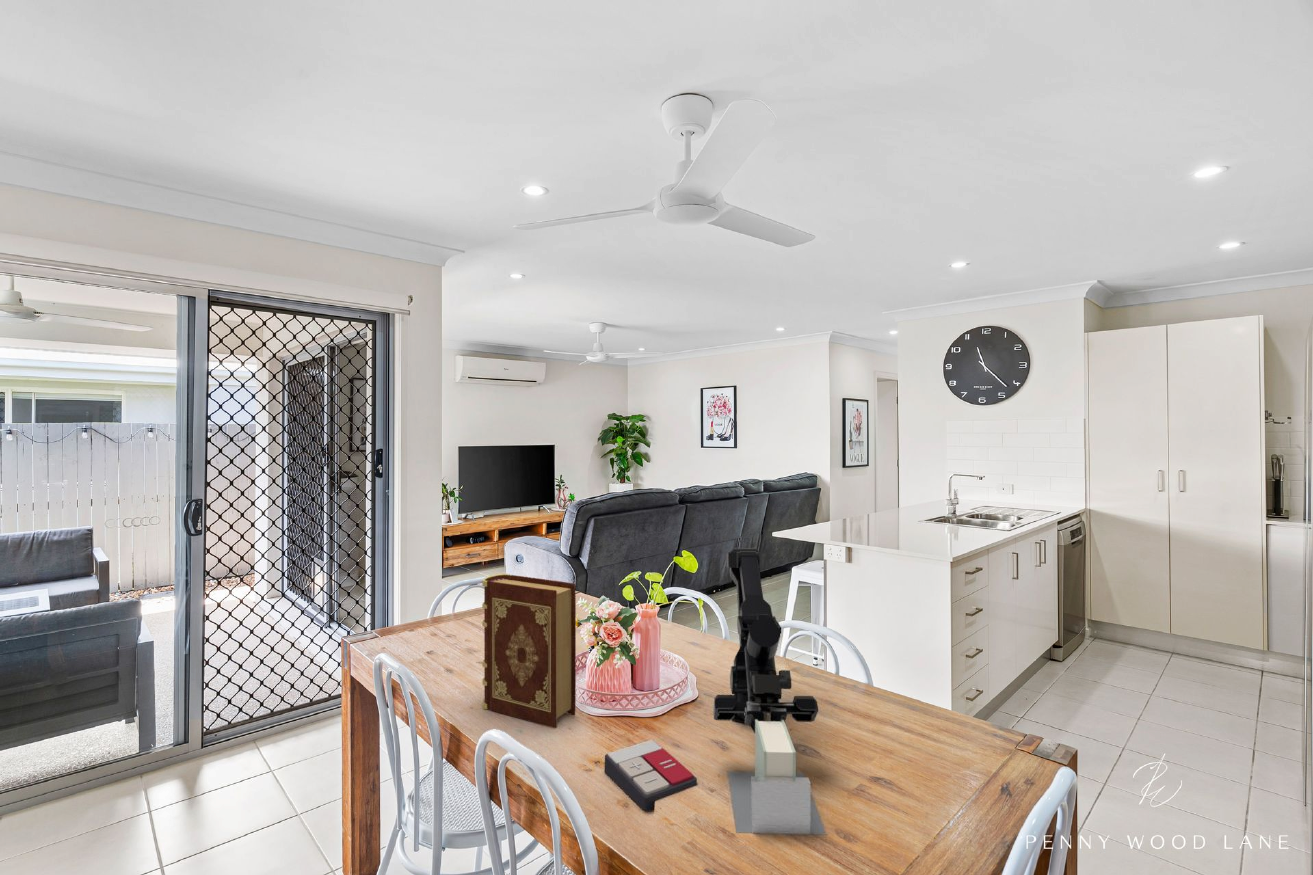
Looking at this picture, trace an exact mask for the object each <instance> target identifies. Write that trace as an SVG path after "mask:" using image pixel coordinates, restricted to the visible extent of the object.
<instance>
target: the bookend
mask: <svg viewBox="0 0 1313 875" xmlns="http://www.w3.org/2000/svg"><path fill="white" fill-rule="evenodd" d="M810 792H811V781H810V778H809V777H806V776H805V777H754V776H751V829H752V833H751V834H765V833H780V834H779V835H810Z"/></svg>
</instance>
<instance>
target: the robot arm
mask: <svg viewBox="0 0 1313 875" xmlns="http://www.w3.org/2000/svg"><path fill="white" fill-rule="evenodd" d="M726 567H727V568H729V577H730V578H731V580H732V581H733V582H734V584H735V585H736V596H737V598H736V599H737V618H736V619H737V620H736V623H737V625H736V626H737V634H738V636H739V637H738V638H739V649H738V651H737V653H736V655H735V656H734V660H733V665H731V666H730V674H729V686H730V687H729V688H730V693H731V694H717V695H715V697H714V698H713V699H714V701H713V719H714V720H715V721H727V722H728V721H734V722H738V723H743V724H744V725H745V726H750V728H751V730H752V731H753V733H754V734H755V720H758V721H765V720H766V718H767V717H768V716H769V718H768V721H776V722H781V720H784V722H785V723H786V719H787V718H788V715H791V718H792V719H793V720H795V722H799V723H801V722H802V723H812V722H815V719H816V717H817V715H818V713H819V705H818V701H817V699H816V698H815V697H814V696H813V695H794V696H793V699H792V702H785V701H783V702H782V701H780V700H781V699H782V696H783V695H782V694H783V692H782V691H783V690H790V689H792V674H791V670H789V669H788V670H785V669H781V670H778V674H777V667H776V661H775V656H776V654H777V650H778V647H779V643H780V640H781V639H780V638H781V634H782V626H781V624H780V623H779V621H778V620H777V618H776V616H775V615H773V611H772V606H771V604H770V603H768V602H767V601H766V600H765V598H764V594H763V593H764V592H763V586H762V580H761V573H760V571H761V569H763V568H764V553H763V552H760V551H759V550H757V547H756V548H755V547H754V548H753V547H751V548H748V547H747V548H745V547H743V548H742V547H732V548H731V549H730V551H729V552H728V551H727V552H726Z"/></svg>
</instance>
